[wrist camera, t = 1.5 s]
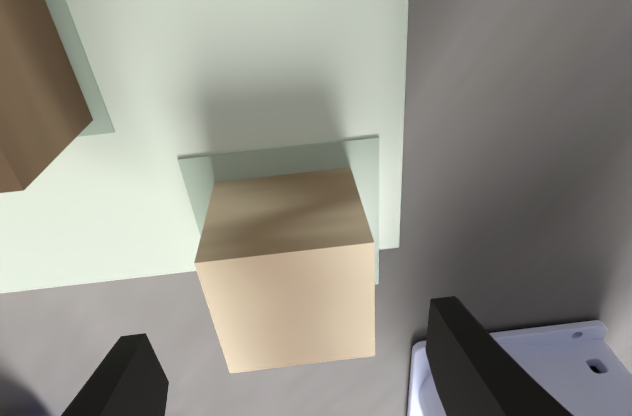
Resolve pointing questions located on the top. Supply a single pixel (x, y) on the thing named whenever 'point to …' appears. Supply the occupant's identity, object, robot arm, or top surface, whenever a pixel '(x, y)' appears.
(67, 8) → the build plate
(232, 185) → the maple block
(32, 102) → the walnut base
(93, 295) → the top surface
